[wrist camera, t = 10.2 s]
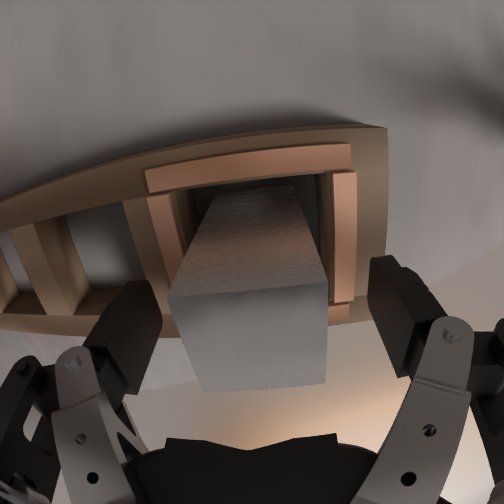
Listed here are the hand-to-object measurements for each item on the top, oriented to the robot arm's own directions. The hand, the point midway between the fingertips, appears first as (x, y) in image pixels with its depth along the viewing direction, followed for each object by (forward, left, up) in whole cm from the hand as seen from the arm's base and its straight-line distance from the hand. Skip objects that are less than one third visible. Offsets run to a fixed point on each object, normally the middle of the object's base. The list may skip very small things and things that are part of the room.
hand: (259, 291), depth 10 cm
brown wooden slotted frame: (0, -9, -6) cm, 11 cm away
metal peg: (0, 0, -6) cm, 6 cm away
